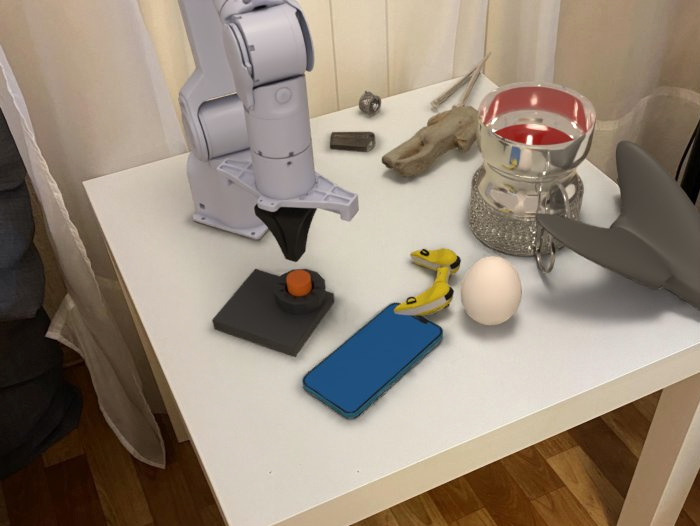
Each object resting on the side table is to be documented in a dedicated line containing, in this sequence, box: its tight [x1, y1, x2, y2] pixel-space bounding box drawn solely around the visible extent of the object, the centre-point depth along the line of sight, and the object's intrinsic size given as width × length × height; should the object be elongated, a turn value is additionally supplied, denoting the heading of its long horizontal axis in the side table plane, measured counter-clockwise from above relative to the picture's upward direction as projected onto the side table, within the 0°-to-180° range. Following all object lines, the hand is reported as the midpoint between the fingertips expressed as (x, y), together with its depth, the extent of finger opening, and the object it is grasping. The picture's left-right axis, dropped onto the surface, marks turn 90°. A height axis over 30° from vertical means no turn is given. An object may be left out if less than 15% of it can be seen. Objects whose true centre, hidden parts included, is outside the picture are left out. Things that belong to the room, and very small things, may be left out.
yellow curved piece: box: [394, 247, 462, 317], centre depth 94 cm, size 10×4×10 cm
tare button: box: [286, 269, 312, 296], centre depth 91 cm, size 3×3×2 cm
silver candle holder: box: [468, 80, 597, 275], centre depth 95 cm, size 13×18×15 cm
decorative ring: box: [358, 90, 382, 117], centre depth 117 cm, size 3×2×3 cm
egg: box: [460, 255, 523, 326], centre depth 89 cm, size 6×6×8 cm
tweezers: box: [430, 51, 492, 110], centre depth 122 cm, size 17×5×2 cm, turn 154°
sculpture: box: [381, 105, 478, 178], centre depth 110 cm, size 7×5×15 cm
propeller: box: [536, 140, 700, 311], centre depth 90 cm, size 23×25×9 cm
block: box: [329, 131, 376, 153], centre depth 113 cm, size 4×6×2 cm, turn 87°
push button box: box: [211, 268, 335, 357], centre depth 92 cm, size 10×10×3 cm
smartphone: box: [301, 302, 444, 419], centre depth 87 cm, size 7×1×15 cm
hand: (295, 255), depth 88 cm, fingers closed
